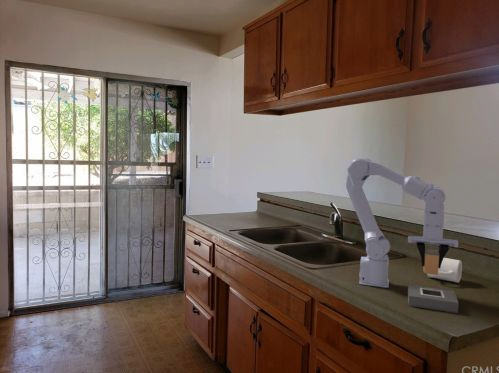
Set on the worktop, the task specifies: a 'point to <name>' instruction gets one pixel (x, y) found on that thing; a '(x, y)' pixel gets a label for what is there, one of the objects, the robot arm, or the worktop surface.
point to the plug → (431, 262)
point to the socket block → (432, 298)
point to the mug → (449, 270)
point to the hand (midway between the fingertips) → (430, 266)
